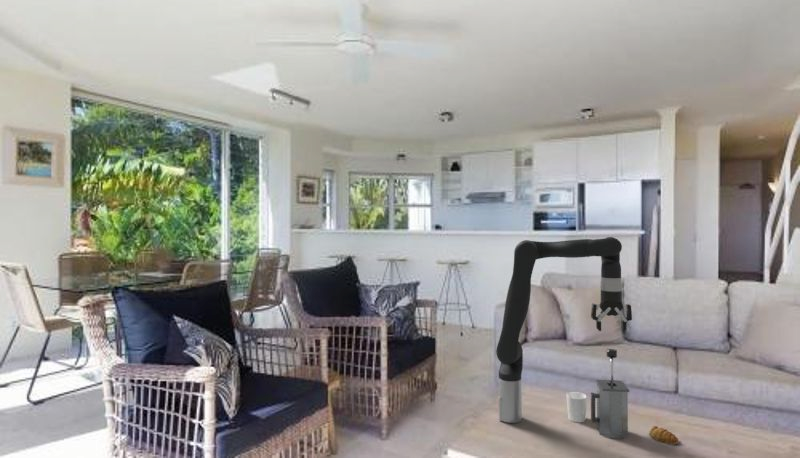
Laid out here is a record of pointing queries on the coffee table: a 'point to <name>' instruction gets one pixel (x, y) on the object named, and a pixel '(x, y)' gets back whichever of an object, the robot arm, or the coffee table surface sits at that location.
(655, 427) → the pastry
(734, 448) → the coffee table surface
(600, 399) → the square french press
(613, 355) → the plunger
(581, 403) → the white cup
